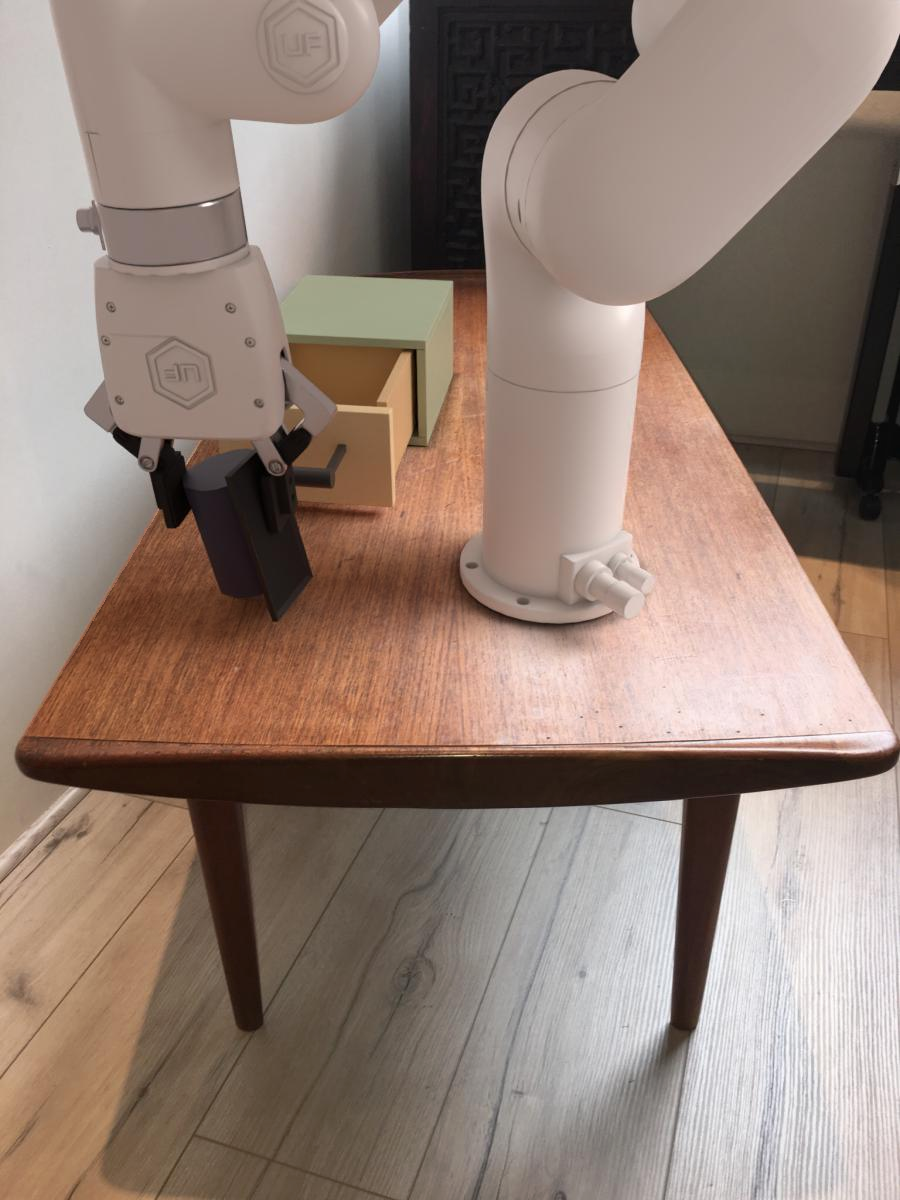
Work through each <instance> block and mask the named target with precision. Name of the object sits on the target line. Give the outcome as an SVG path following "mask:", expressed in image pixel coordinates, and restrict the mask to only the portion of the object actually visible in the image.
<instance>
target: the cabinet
mask: <svg viewBox="0 0 900 1200" xmlns="http://www.w3.org/2000/svg"><path fill="white" fill-rule="evenodd" d="M279 307H280V310H281V314H282V318H283V322H284V326H285V331H286V335H287V340H288V343H303V344H323V345H343V346H363V347H383V348H403V349H416V375H417V422H416V425H415V427H414V430H413V432H412V435H411V437H410V440H409V442H408V445H407V446H418V447H420V446H421V447H428V445H429V442H430V440H431V437H432V434H433V432H434V429H435V426H436V423H437V421H438V418H439V415H440V412H441V410H442V407H443V404H444V401H445V398H446V396H447V393H448V390H449V388H450V385H451V382H452V380H453V376H454V281H453V280H443V279H441V280H440V279H437V280H436V279H419V278H417V279H416V278H396V277H395V278H393V277H392V278H391V277H369V276H367V277H366V276H345V275H344V276H343V275H319V274H318V275H317V274H305V275H304V277H302V278H301V280H300V281H299V282H298V284H297V285H295V287H294V288H293V289H292V290H291V291H290V292H289V294H288V295H287V296H286V297H285V298H284V299H283V300H282V301H281V303H279Z"/></svg>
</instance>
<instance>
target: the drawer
mask: <svg viewBox="0 0 900 1200" xmlns="http://www.w3.org/2000/svg"><path fill="white" fill-rule="evenodd" d="M288 344H289V349H290V354H291V359H292V365H293V366H294V367H295V368H296V369H297V370H298V371H299V372H300V373H302V374H303V375H304V376H305V377H306V378H307V379H308V380H309V381H310V382H312V383H313V384H314V385H315V386H316V387H317V388H318V389H319V390H320V391H322V392H323V393H324V394H325V395H326V396H327V397H328V398H329V399H330V400H331V401H333V402H334V403H335V404H336V406H337V408H338V411H337V414H336V415H335V417H334V419H333V421H332V422H331V424H330V425H329V426H328V427H327V428H326V429H325V430H324V431H323V432H322V433H321V434H320V435H319V436H318V437H317V438H315V439H314V440H313V441H312V442H311V443H310V444H309V446H308V447H307V449H306V450H305V451H304V452H303V453H302V454H301V455H300V456H299V457H298V458H297V459H296V460H295V461H294V462H293V463H292V466H293V473H294V480H295V487H296V494H297V502H308V503H321V504H335V505H336V504H339V505H351V506H364V507H365V506H366V507H379V508H381V507H382V508H394V506H395V504H396V500H397V493H396V492H397V491H396V474H397V472H398V469H399V467H400V464H401V461H402V460H403V458H404V454H405V452H406V450H407V447H408V446H409V445H408V442H409V440H410V437H411V435H412V432H413V430H414V427H415V425H416V422H417V375H416V349H403V348H383V347H363V346H343V345H323V344H303V343H288ZM304 418H305V416H304V413H303V412H302V411H301V410H300V409H299V408H298V407H297V406H296V405H293V406H292V407H290V408H289V409H287V410H284V418H283V421H284V423H285V425H286V427H287V428H288V430H289V432H290V431H291V430H292V429H293V428H294V427H295V426H296V425H297V424H298V423H299V422H300V421H302V420H303V419H304ZM217 442H218V449H219V454H221V453H225V452H228V451H232V450H236V449H246V448H247V449H253V450H254V447H253V445H252V443H251V442H250V441H224V440H217Z"/></svg>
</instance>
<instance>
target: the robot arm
mask: <svg viewBox="0 0 900 1200" xmlns="http://www.w3.org/2000/svg"><path fill="white" fill-rule="evenodd" d="M403 1H404V0H48V5H49V10H50V16H51V20H52V25H53V29H54V33H55V38H56V41H57V46H58V51H59V55H60V59H61V63H62V68H63V71H64V76H65V80H66V84H67V89H68V93H69V95H70V96H69V97H70V102H71V105H72V110H73V114H74V118H75V122H76V127H77V130H78V135H79V140H80V144H81V149H82V153H83V158H84V162H85V166H86V170H87V175H88V179H89V184H90V188H91V192H92V197H93V199H91V200H90V201H91V202H90V203H91V205H89V206H79V207H78V208H76V209H77V210H76V212H75V213H76V215H75V219H76V224H77V227H78V229H79V231H80V232H81V233H85V234H87V233H89V234H90V233H92V234H94V235H95V236H98V237H99V242H100V245H101V250H102V251H105V252H106V254H105V255H103V256H101V257H99V258H97V259H96V260H95V261H94V262H93V294H94V296H93V299H94V307H95V308H94V310H95V311H94V313H95V322H96V323H95V324H96V333H97V339H98V347H99V354H100V360H101V367H102V373H103V377H104V379H103V380H102V382H101V383H100V385H99V386H98V388H97V389H96V390H95V391H94V393H93V394H92V395H91V397H90V398H89V400H88V401H87V403H85V405H84V406H83V412H84V415H85V416H86V417H87V418H88V419H90V420H91V422H92V421H93V423H95V424H96V425H97V426H99V427H100V428H101V429H103V430H104V431H105V432H106V433H110V434H111V435H112V439H113V440H114V441H115V442H116V443H117V444H118V445H120V446H121V448H123V449H124V450H126V451H127V452H128V453H130V454H131V456H133V457H134V458H136V460H137V465H138V467H139V468H140V469H141V470H142V471H144V472H147V473H149V477H150V482H151V486H152V487H151V488H152V491H153V495H154V499H155V504H156V507H157V508H158V510H161V512H162V515H163V519H164V523H165V527H166V529H170V530H171V529H173V530H176V529H177V528H178V527H180V526H181V525H182V523H183V522H184V521H185V520H186V518H187V517H188V516H189V514H190V512H192V509H191V507H190V504H189V501H188V498H187V495H186V492H185V490H184V486H183V480H182V476H183V475H184V473H185V472H186V471H187V470H188V469H187V464H186V459H185V456H184V455H182V451H181V450H175V448H174V444H175V440H190V441H218V440H224V441H250V442H251V443H252V445H253V447H254V449H255V450H256V452H257V454H258V455H259V457H260V459H261V461H262V462H263V464H264V466H265V470H264V472H263V473H262V475H261V477H260V486H261V492H262V498H263V504H264V510H265V516H266V522H267V527H268V530H270V531H271V533H280V532H281V530H282V528H283V527H284V525H285V523H286V521H287V519H288V517H289V515H290V514H291V515H293V514H295V513H296V510H297V509H298V508H297V507H298V501H297V494H296V487H295V480H294V473H293V466H292V463H293V462H294V461H295V460H296V459H297V458H298V457H299V456H300V455H301V454H302V453H303V452H304V451H305V450H306V449H307V447H308V446H309V444H310V443H311V442H312V441H313V440H314V439H315V438H317V437H318V436H319V435H320V434H321V433H322V432H323V431H324V430H325V429H326V428H327V427H328V426H329V425H330V424H331V422H332V421H333V419H334V417H335V415H336V414H337V411H338V408H337V406H336V404H335V403H334V402H333V401H331V400H330V399H329V398H328V397H327V396H326V395H325V394H324V393H323V392H322V391H320V390H319V389H318V388H317V387H316V386H315V385H314V384H313V383H312V382H310V381H309V380H308V379H307V378H306V377H305V376H304V375H303V374H302V373H300V372H299V371H298V370H297V369H296V368H295V367H294V366H293V365H292V359H291V354H290V349H289V344H288V340H287V335H286V331H285V326H284V322H283V318H282V314H281V310H280V307H279V305H280V303H279V299H278V296H277V293H276V290H275V286H274V284H273V281H272V277H271V274H270V272H269V269H268V266H267V263H266V260H265V258H264V254H263V252H262V250H261V247H259V246H258V245H256V244H255V245H254V244H249V243H250V242H249V237H248V230H247V224H246V217H245V211H244V204H243V197H242V190H241V186H240V185H241V183H240V176H239V168H238V163H237V155H236V150H235V143H234V142H235V141H234V136H233V129H232V123H231V120H235V121H236V120H237V121H247V122H248V121H250V122H259V123H273V124H283V125H313V124H318V123H322V122H326V121H330V120H332V119H334V118H336V117H337V118H338V117H339V116H340V115H342V114H344V113H345V112H347V111H348V110H349V109H351V108H352V107H353V106H355V104H357V103H358V102H359V100H360V99H361V98H362V97H363V96H364V94H365V93H366V91H367V90H368V88H369V87H370V85H371V83H372V81H373V80H374V76H375V74H376V71H377V69H378V64H379V59H380V52H381V31H380V28H381V26H382V25H383V23H384V22H385V21H386V20H387V19H388V18H389V17H390V16H391V15H392V14H393V12H394V11H395V10H396V9H397V8H398V7H399V6H400V5H401V4H402V3H403ZM631 29H632V36H633V37H632V38H633V40H634V44H635V47H636V50H637V52H638V54H639V56H638V57H637V59H635V60H634V61H633V62H632V64H631V65H630V66H629V67H628V68H627V69H626V71H625V72H624V73H623V74H622V75H621V76H620V77H619V78H618V79H617V78H615V77H611V76H609V75H607V74H604V73H600V72H597V71H591V70H585V69H575V68H573V69H572V68H571V69H562V70H558V71H553V72H550V73H547V74H544V75H542V76H539V77H536V78H534V79H533V80H531V81H530V82H528V83H527V84H525V85H524V86H523V87H521V88H520V89H519V90H517V91H516V92H515V94H513V95H512V96H511V97H510V99H509V100H508V101H507V102H506V103H505V105H504V106H503V107H502V109H501V110H500V112H499V113H498V115H497V117H496V118H495V120H494V123H493V125H492V127H491V128H490V129H491V130H490V132H489V135H488V138H487V141H486V144H485V148H484V151H483V152H484V154H483V158H482V165H481V166H482V167H481V178H480V179H481V180H480V182H481V183H480V192H481V194H480V195H481V196H480V199H481V217H482V228H483V229H482V230H483V244H484V245H483V246H484V257H485V258H484V259H485V277H486V359H485V382H484V384H485V385H484V386H485V388H484V389H485V390H484V391H485V392H484V430H483V431H484V435H483V438H484V439H483V480H482V481H483V482H482V483H483V484H482V485H483V487H482V488H483V489H482V530H481V531H479V532H478V533H476V534H475V535H473V536H472V537H471V538H470V539H469V541H467V542H466V543H465V545H464V547H463V549H462V550H461V553H460V558H459V576H460V579H461V581H462V585H463V586H464V588H465V589H466V590H467V592H468V593H469V594H470V595H471V596H472V597H473V598H474V599H475V600H477V602H479V603H480V604H482V605H484V606H485V607H487V608H489V609H491V610H492V611H494V612H497V613H500V614H503V615H504V616H507V617H510V618H514V619H518V620H522V621H525V622H526V621H527V622H533V623H540V624H571V623H573V624H574V623H580V622H584V621H585V622H586V621H590V620H594V619H597V618H600V617H603V616H606V615H608V614H611V613H612V612H614V613H616V614H617V615H619V616H620V617H622V618H624V619H625V620H628V621H630V620H633V619H635V618H636V617H638V615H640V613H642V611H643V609H644V606H645V603H646V596H645V595H647V594H649V593H650V592H652V590H653V589H654V588H655V585H656V583H657V578H656V576H655V575H654V574H653V573H650V572H649V571H647V570H645V569H643V568H642V567H641V566H640V562H639V558H638V556H637V554H636V553H635V551H634V550H633V540H634V535H633V534H632V533H630V532H628V531H626V530H624V529H623V521H624V513H625V504H626V495H627V486H628V478H629V470H630V469H629V468H630V459H631V451H632V444H633V443H632V442H633V433H634V424H635V415H636V405H637V399H638V398H637V397H638V388H639V380H640V372H641V368H642V360H643V350H644V349H643V348H644V341H645V340H644V339H645V323H646V302H649V301H651V300H654V299H656V298H659V297H661V296H663V295H665V294H666V293H669V292H671V291H672V290H674V289H675V288H677V287H678V286H680V285H681V284H683V283H685V282H686V281H687V280H688V279H689V278H691V277H692V276H693V275H695V274H696V273H697V272H698V271H699V270H700V269H701V268H703V267H704V266H705V265H706V264H707V263H708V262H709V261H711V260H712V259H713V258H714V257H715V256H716V255H717V254H718V253H719V252H720V251H721V250H722V249H723V248H724V247H725V246H726V245H727V244H728V243H729V242H730V241H731V240H732V239H733V238H734V237H735V236H736V235H737V234H738V233H739V232H740V231H741V230H742V229H743V228H744V227H745V226H746V225H747V224H748V223H749V222H750V221H751V220H752V219H753V218H754V217H755V216H756V215H757V213H759V212H760V210H761V209H763V208H764V206H765V205H766V204H768V203H769V202H770V200H771V199H772V198H773V197H774V196H775V195H776V194H778V192H779V191H780V190H781V189H782V188H783V187H784V186H785V185H786V184H787V183H788V182H789V181H790V180H791V179H793V177H794V176H795V175H796V174H797V173H798V172H799V171H800V170H801V169H802V168H803V167H804V166H805V165H806V164H807V162H809V161H810V160H811V159H812V158H813V156H815V155H816V154H817V153H818V152H819V150H821V148H822V147H823V146H824V145H825V144H826V143H828V141H830V139H831V138H832V137H833V136H834V135H835V134H836V133H837V132H838V131H839V130H840V129H841V127H842V126H844V124H845V123H847V121H848V120H849V119H850V118H851V117H852V116H853V114H854V113H855V112H856V111H857V110H858V108H859V107H860V106H861V105H862V104H863V102H864V101H865V100H866V98H867V97H868V95H869V94H870V93H871V91H872V90H873V89H874V86H875V85H876V84H877V82H878V80H879V79H880V77H881V74H882V73H883V71H884V70H885V67H886V66H887V64H888V63H889V61H890V59H891V56H892V54H893V52H894V49H895V48H896V45H897V42H898V40H899V38H900V37H899V36H900V0H633V3H632V8H631ZM293 405H296V406H297V407H298V408H299V409H300V410H301V411H302V412H303V413H304V416H305V418H304V419H303V420H302V421H300V422H299V423H298V424H297V425H296V426H295V427H294V428H293V429H292V430H291V431H290V432H289V430H288V428H287V427H286V425H285V423H284V421H283V418H284V410H287V409H289V408H290V407H292V406H293Z"/></svg>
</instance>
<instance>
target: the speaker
mask: <svg viewBox="0 0 900 1200" xmlns="http://www.w3.org/2000/svg"><path fill="white" fill-rule="evenodd" d="M264 470H265V466H264V464H263V462H262V461H261V459H260V457H259V455H258V454H257V452H256V450H255V449H254V450H253V449H247V448H246V449H236V450H232V451H228V452H225V453H221V454H220V453H218V454H215V455H211V456H208V457H205V459H203V460H201V461H199V462H198V463H196V464H194V465H193V466H191V467H190V468H188V469H187V471H186V472H185V473H184V475H183V476H182V480H183V486H184V490H185V492H186V495H187V498H188V501H189V504H190V507H191V512H192V516H193V518H194V521H195V524H196V526H197V530H198V533H199V536H200V537H201V541H202V543H203V547H204V550H205V553H206V555H207V557H208V561H209V563H210V566H211V569H212V572H213V575H214V578H215V580H216V582H217V586H218V588H219V589H218V590H219V592H220V594H221V595H224V596H228V597H230V598H235V599H237V600H245V599H246V600H247V599H254V598H256V597H259V596H263V598H264V600H265V603H266V606H267V609H268V612H269V615H270V618H271V622H272V623H279V621H280V620H281V619H282V618H283V617H284V615H285V614H286V612H287V611H288V610H289V609H290V607H291V606H292V605H293V604H294V602H295V601H296V600H297V598H298V597H299V596H300V595H301V593H302V592H303V591H304V590H305V588H306V587H307V586H308V584H309V583H310V582H311V580H313V578H314V575H313V572H312V569H311V564H310V561H309V558H308V554H307V551H306V548H305V545H304V541H303V537H302V534H301V530H300V527H299V524H298V520H297V518H296V517H297V516H296V514H295V513H294V514H293V515H291V514H290V515H289V517H288V519H287V521H286V523H285V525H284V527H283V528H282V530H281V532H280V533H271V531H270V530H268V527H267V522H266V516H265V510H264V504H263V498H262V492H261V486H260V477H261V475H262V473H263V472H264Z"/></svg>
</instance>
